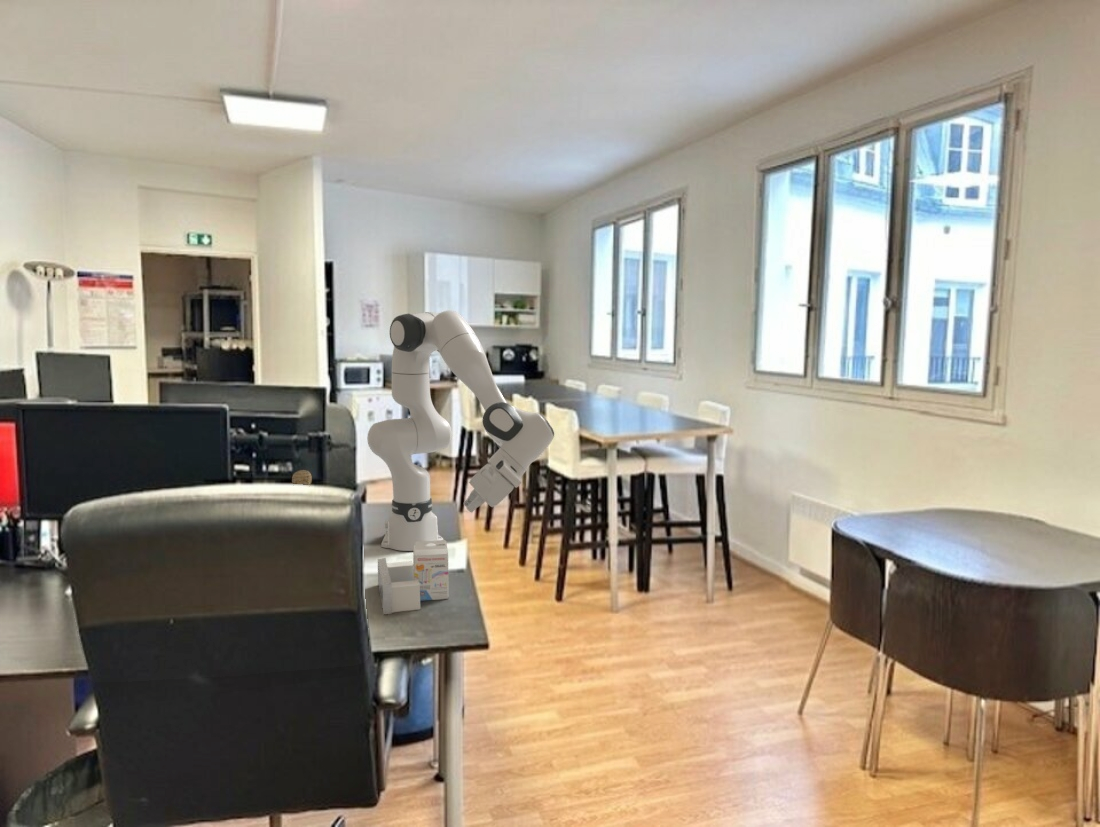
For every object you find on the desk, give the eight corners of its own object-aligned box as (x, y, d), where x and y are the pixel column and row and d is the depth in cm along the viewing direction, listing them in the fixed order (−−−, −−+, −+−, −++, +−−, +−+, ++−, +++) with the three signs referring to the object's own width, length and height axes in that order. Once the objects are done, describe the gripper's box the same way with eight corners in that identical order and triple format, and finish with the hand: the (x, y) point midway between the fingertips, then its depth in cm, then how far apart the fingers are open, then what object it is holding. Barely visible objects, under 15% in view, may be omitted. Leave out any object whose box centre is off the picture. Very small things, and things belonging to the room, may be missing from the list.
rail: (378, 585, 187) (377, 558, 186) (386, 584, 188) (385, 558, 187) (383, 614, 168) (382, 586, 167) (392, 613, 169) (391, 585, 168)
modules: (386, 585, 187) (385, 563, 186) (412, 583, 189) (411, 560, 188) (392, 612, 170) (391, 587, 169) (420, 609, 172) (419, 585, 171)
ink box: (413, 601, 176) (412, 548, 175) (413, 589, 184) (412, 538, 183) (449, 599, 178) (448, 546, 176) (447, 587, 186) (446, 536, 184)
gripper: (487, 452, 192) (451, 490, 190) (505, 467, 172) (465, 510, 171) (504, 468, 194) (468, 506, 192) (523, 484, 174) (483, 527, 173)
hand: (467, 508), depth 181 cm, fingers open, 2 cm apart
